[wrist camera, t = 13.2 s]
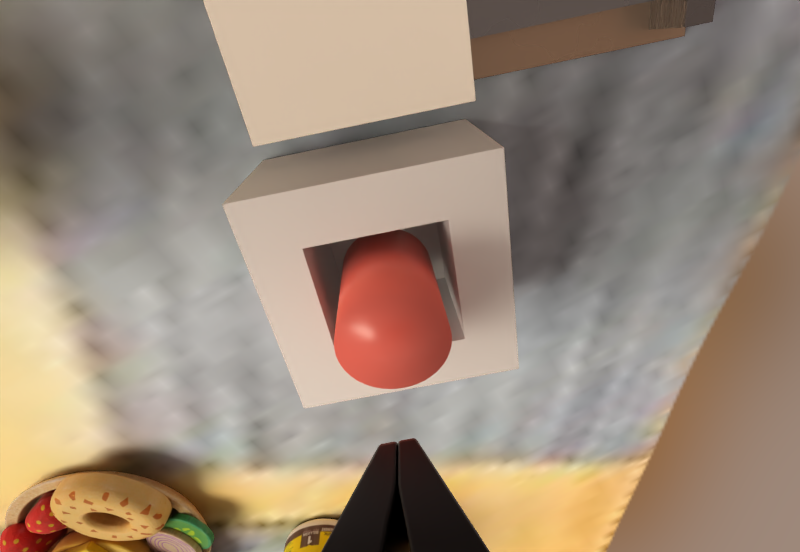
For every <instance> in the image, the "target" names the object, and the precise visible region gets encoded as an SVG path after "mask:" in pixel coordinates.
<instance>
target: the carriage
mask: <svg viewBox="0 0 800 552" xmlns="http://www.w3.org/2000/svg"><path fill="white" fill-rule="evenodd" d="M203 2H204V5H205V8H206V10H207V13H208V16H209V19H210V22H211V25H212V28H213V31H214V34H215V37H216V40H217V43H218V45H219V48H220V51H221V54H222V57H223V60H224V63H225V66H226V69H227V72H228V75H229V78H230V80H231V83H232V86H233V89H234V92H235V95H236V98H237V101H238V104H239V107H240V110H241V113H242V115H243V118H244V121H245V124H246V127H247V130H248V133H249V136H250V139H251V142H252V145H253V147H254V146H259V145H264V144H268V143H273V142H278V141H283V140H288V139H293V138H298V137H302V136H307V135H312V134H317V133H322V132H327V131H332V130H336V129H341V128H346V127H351V126H356V125H361V124H365V123H370V122H375V121H380V120H385V119H390V118H395V117H399V116H404V115H409V114H414V113H419V112H424V111H429V110H433V109H438V108H443V107H448V106H453V105H458V104H463V103H467V102H472V101H476V98H475V88H474V77H473V66H472V56H471V45H470V34H469V23H468V13H467V2H466V0H203Z"/></svg>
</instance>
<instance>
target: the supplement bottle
mask: <svg viewBox="0 0 800 552" xmlns="http://www.w3.org/2000/svg"><path fill="white" fill-rule="evenodd" d="M337 522H338V520H335V519H315V520H310V521H307V522H305V523H302V524H300V525H299V526H297V527H296V528H295V529H294V530H293V531H292V532H291V533H290V534H289V536H288V538H287V541H286V544H285V549H284V552H321V551H322V549H323V547H324V545H325V544H326V542H327V540H328V538H329V536H330V534H331V533H332V531H333V529H334V527H335V525H336V523H337Z"/></svg>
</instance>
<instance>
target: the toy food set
mask: <svg viewBox="0 0 800 552" xmlns="http://www.w3.org/2000/svg"><path fill="white" fill-rule="evenodd" d="M5 524H6V529H5V530H4V531H3V532H2V534H1V539H0V551H1V552H211V547H212V543H213V541H214V534H213V532H212V531H211V529H210V528H209V527H208V526H207V524H206V522H205V520H204V519H203V517H202V516H201V515H200V513H199V511H198V510H197V509H196V507H195V506H194V505H193V504H192V503H191V502H190V501H189V500H188V499H187V498H185V497H184V496H183V495H181V494H180V493H178V492H177V491H175V490H173V489H172V488H170V487H168V486H166V485H164V484H162V483H159V482H157V481H154V480H151V479H148V478H145V477H142V476H138V475H134V474H128V473H122V472H114V471H85V472H77V473H72V474H67V475H63V476H58V477H54V478H51V479H48V480H45V481H42V482H40V483H38V484H36V485H34V486H32V487H30V488H28V489H27V490H25V491H24V492H22V493H21V494H20V495H19V496H18V497H17V498H15V499H14V501H13V502H12V503H11V504H10V506H9V508H8V510H7V513H6V518H5Z"/></svg>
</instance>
